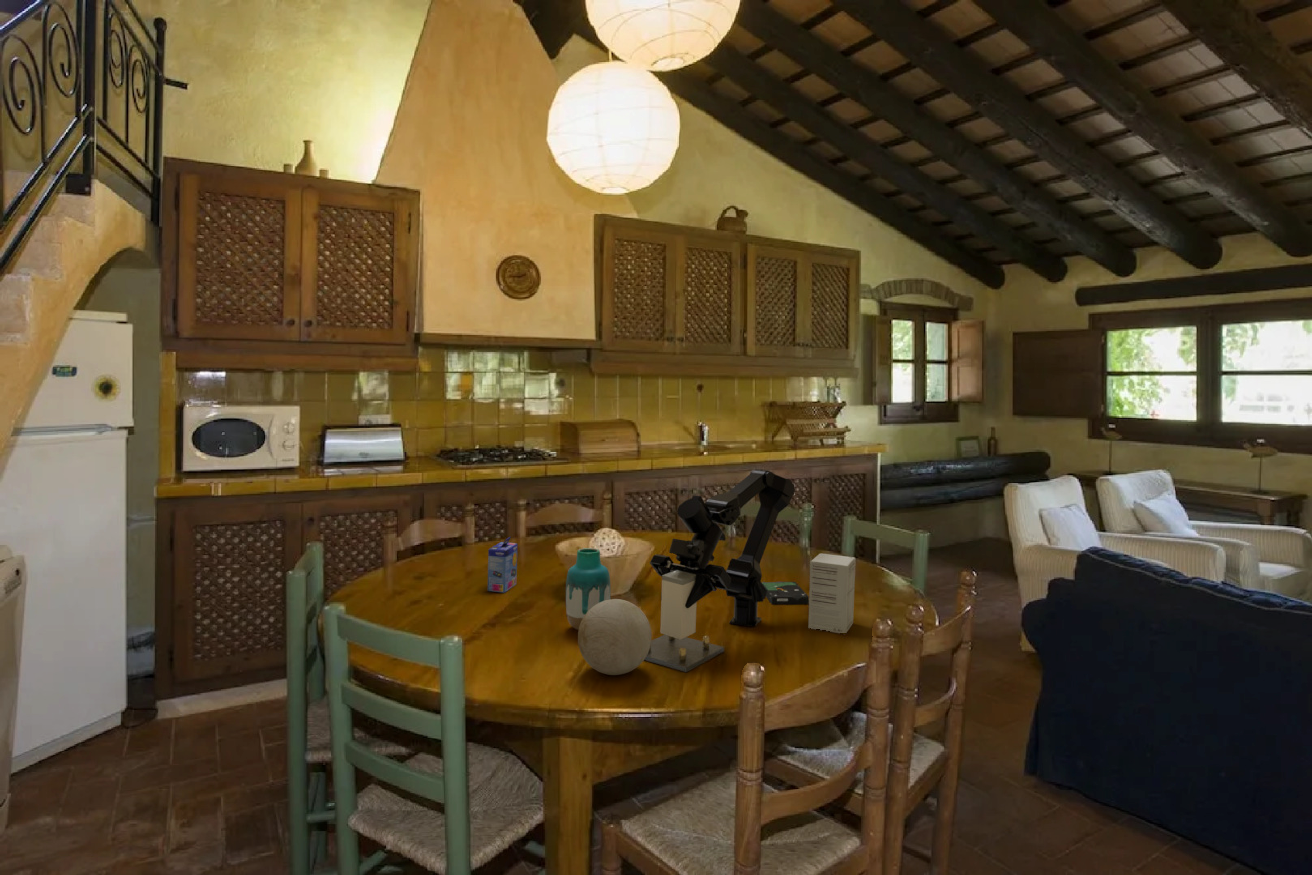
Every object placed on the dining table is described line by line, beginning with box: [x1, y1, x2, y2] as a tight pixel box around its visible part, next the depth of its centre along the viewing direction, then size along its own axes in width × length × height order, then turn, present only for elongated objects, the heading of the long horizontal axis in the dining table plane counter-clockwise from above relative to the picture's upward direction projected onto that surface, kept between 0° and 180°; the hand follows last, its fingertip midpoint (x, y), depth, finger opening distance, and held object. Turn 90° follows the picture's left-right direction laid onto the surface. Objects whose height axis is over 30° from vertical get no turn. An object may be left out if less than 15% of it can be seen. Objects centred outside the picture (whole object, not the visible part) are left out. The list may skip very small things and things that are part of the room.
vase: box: [565, 547, 611, 631], centre depth 180 cm, size 11×11×19 cm
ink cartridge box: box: [487, 536, 518, 594], centre depth 214 cm, size 10×6×14 cm, turn 170°
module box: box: [659, 570, 698, 640], centre depth 165 cm, size 6×6×13 cm
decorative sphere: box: [577, 598, 652, 676], centre depth 154 cm, size 15×15×15 cm
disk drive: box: [761, 581, 809, 606], centre depth 210 cm, size 10×3×15 cm
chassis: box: [644, 634, 725, 673], centre depth 166 cm, size 15×15×4 cm
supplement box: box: [807, 553, 856, 634], centre depth 185 cm, size 10×9×17 cm
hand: (674, 604), depth 164 cm, fingers closed on module box, 6 cm apart
